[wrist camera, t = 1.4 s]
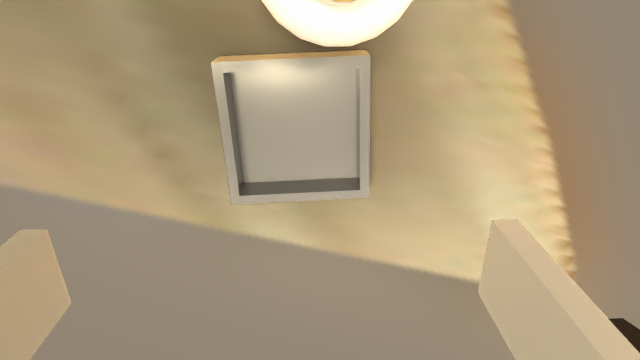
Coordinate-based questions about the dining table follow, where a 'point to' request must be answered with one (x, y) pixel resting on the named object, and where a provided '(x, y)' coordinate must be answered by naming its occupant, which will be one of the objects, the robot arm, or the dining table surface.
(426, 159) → the dining table surface
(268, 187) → the grey square tray
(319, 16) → the potion bottle
